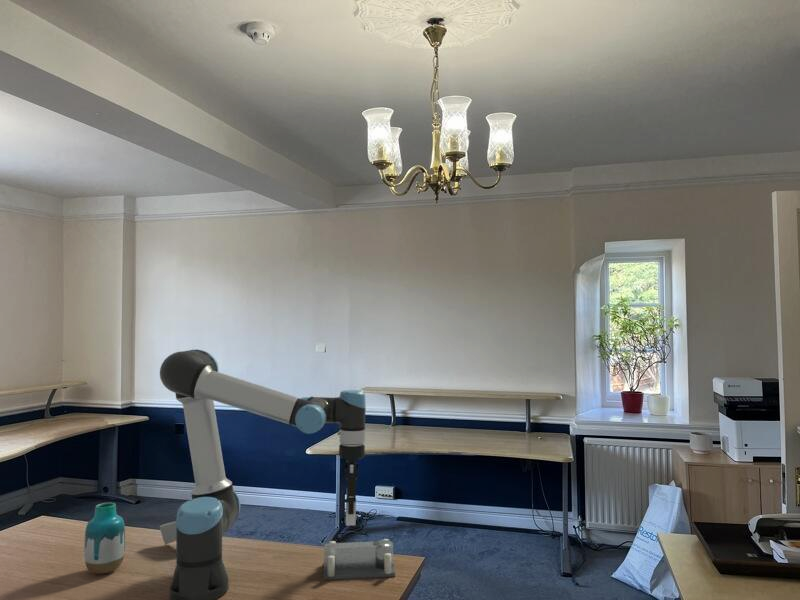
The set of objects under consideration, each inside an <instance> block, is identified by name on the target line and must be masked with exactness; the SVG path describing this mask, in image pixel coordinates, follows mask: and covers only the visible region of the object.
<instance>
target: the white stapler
mask: <svg viewBox="0 0 800 600" xmlns="http://www.w3.org/2000/svg"><path fill="white" fill-rule="evenodd" d="M159 529H160V530H159V531H160V533H161V536H162V540H163V543H164V545H167V544H168V545H169V544H171V543H174V542H176V520H175V521H170V522H167V523H164V524H162V525H159Z"/></svg>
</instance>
